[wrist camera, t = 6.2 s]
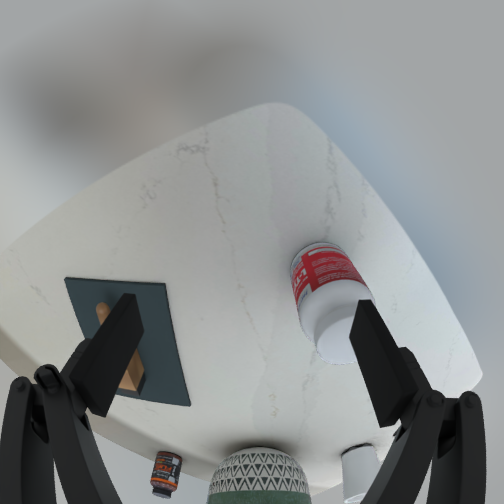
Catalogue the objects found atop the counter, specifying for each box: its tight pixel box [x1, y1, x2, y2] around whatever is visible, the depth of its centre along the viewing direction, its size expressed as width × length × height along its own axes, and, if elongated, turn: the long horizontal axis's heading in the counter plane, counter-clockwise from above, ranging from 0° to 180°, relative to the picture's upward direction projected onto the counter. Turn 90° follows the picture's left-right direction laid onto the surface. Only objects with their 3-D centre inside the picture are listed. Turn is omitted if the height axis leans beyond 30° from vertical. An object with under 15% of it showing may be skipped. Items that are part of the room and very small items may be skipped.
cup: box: [341, 444, 381, 503], centre depth 40 cm, size 10×10×13 cm
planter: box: [206, 447, 312, 504], centre depth 34 cm, size 20×20×21 cm
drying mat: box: [64, 277, 191, 407], centre depth 33 cm, size 22×14×1 cm, turn 179°
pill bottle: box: [290, 243, 376, 365], centre depth 22 cm, size 6×6×11 cm
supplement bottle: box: [150, 452, 182, 498], centre depth 42 cm, size 6×6×11 cm
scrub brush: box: [96, 302, 146, 396], centre depth 29 cm, size 15×3×4 cm, turn 179°
